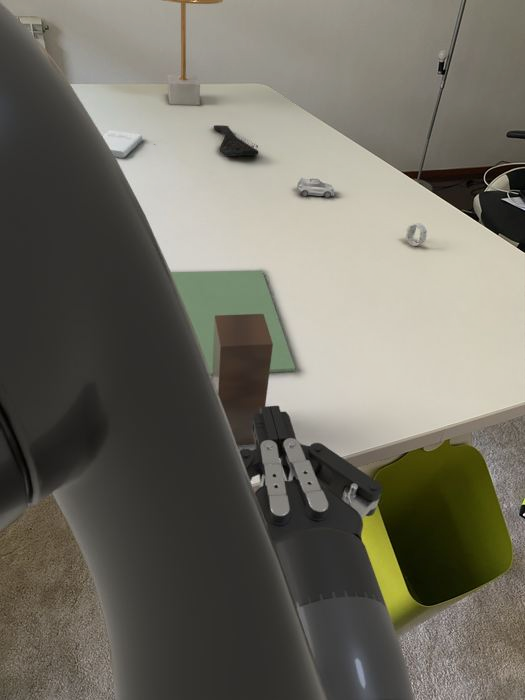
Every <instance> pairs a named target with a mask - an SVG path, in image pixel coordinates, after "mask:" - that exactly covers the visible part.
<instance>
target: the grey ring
mask: <svg viewBox="0 0 525 700" xmlns="http://www.w3.org/2000/svg"><path fill="white" fill-rule="evenodd" d="M417 229H418V230H419V236H418V240H417V242H416V241H415V239H414V236H415V235H416V231H417ZM427 232H428V231H427V229H426V226H425V225H424V224H422V223H420V222H418V223H417V222H416V223H412V224H410V225H408V226H407V228H406V232H405V238H406V239H407V242H408V243H409V245H411V246H413V247H415V246H416V247H417V246H420V245H422V244H424V242H425V241H426V239H427Z"/></svg>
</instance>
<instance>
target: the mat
mask: <svg viewBox="0 0 525 700" xmlns="http://www.w3.org/2000/svg"><path fill="white" fill-rule="evenodd" d="M171 274H172V276H173V278H174V281H175V283H176V286H177V288H178V291H179V293H180V296H181V298H182V301H183V303H184V305H185V308H186V310H187V313H188V315H189V318H190V320H191V323H192V325H193V328H194V330H195V333H196V336H197V339H198V341H199V344H200V347H201V349H202V352H203V355H204V357H205V360H206V363H207V365H208V368H209V371H210V373H211V376H212V371H213V344H214V318H215V315H241V314H264V317H265V320H266V323H267V326H268V330H269V333H270V336H271V339H272V343H273V348H272V356H271V364H270V372H269V373H284V372H296V367H295V366H296V365H295V364H294V360H293V358H292V357H293V356H292V355H291V354H292V353H291V352H290V349H289V346H288V343H287V340H286V336H285V334H284V331H283V328H282V325H281V321H280V320H279V317H278V314H277V313H278V312H277V310H276V307H275V304H274V301H273V299H272V295H271V292H270V290H269V289H270V288H269V286H268V283H267V280H266V278H265V275H264V272H263V270H218V271H216V270H215V271H213V270H212V271H171Z"/></svg>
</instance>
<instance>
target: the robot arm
mask: <svg viewBox="0 0 525 700" xmlns="http://www.w3.org/2000/svg"><path fill="white" fill-rule="evenodd" d="M171 272H172V271H171V269H170V266H169V264H168V262H167V260H166V258H165V256H164V253H163V251H162V249H161V247H160V245H159V243H158V239H157V238H156V236H155V233H154V231H153V229H152V227H151V225H150V222H149V220H148V217H147V216H146V214H145V212H144V209H143V208H142V206H141V204H140V202H139V200H138V197H137V196H136V194H135V192H134V191H133V189H132V187H131V185H130V183H129V181H128V179H127V177H126V175H125V173H124V171H123V170H122V168H121V166H120V164H119V161H118V159H117V157H115V156H114V155H113V153H112V151H111V150H110V148H109V146H108V145H107V143H106V141H105V140H104V138H103V134H102V133H101V131H100V130H99V128H98V126H97V125H96V123H95V122H94V120H93V118H92V117H91V115H90V114H89V112H88V110H87V108H86V107H85V105H84V104H83V102H82V101H81V99H80V97H79V96H78V94H77V93H76V91H75V90H74V88H73V86H72V84H71V83H70V82H69V80H68V78H67V77H66V75H65V74H64V72H63V71H62V69H61V68H60V67H59V65H58V64H57V63H56V61H55V60H54V59H53V57H52V56H51V55H50V53H49V52H48V51H47V50H46V47H44V46H43V44H41V42H40V41H39V40H38V39H37V38H36V37H35V36H34V35H33V33H32V32H31V31H30V30H29V29H28V28H27V27H26V25H25V24H24V23H23V22H22V21H21V20H20V19H19V18H18V17H17V16H16V15H15V14H14V13H13V12H12V11H11V10H10V9H9V8H8V7H7V6H6V5H5V4H4V3H3V2H2V1H1V0H0V534H2V533H4V532H5V531H6V530H7V529H8V528H9V527H11V526H12V525H13V524H14V523H15V522H17V521H18V520H20V519H21V518H22V516H23V515H24V514H25V512H26V511H27V509H32V508H34V507H36V505H38V504H39V503H41V502H42V501H43V500H45V499H46V498H47V497H49V496H50V495H51V497H52V498H53V500H54V502H55V503H56V505H57V508H58V509H59V510H60V513H61V515H62V516H63V518H64V520H65V522H66V523H67V525H68V527H69V529H70V531H71V533H72V535H73V537H74V539H75V541H76V544H77V545H78V547H79V550H80V552H81V555H82V558H83V560H84V562H85V564H86V567H87V570H88V572H89V574H90V577H91V581H92V583H93V586H94V590H95V593H96V596H97V599H98V602H99V606H100V609H101V613H102V618H103V622H104V627H105V632H106V636H107V640H108V648H109V657H110V664H111V674H112V681H113V689H114V698H115V700H415V696H414V692H413V687H412V683H411V678H410V673H409V670H408V665H407V662H406V658H405V655H404V653H403V649H402V647H401V644H400V641H399V638H398V635H397V632H396V630H395V629H396V628H395V627H394V624H393V620H392V618H391V615H390V611H389V610H388V606H387V604H386V601H385V598H384V596H383V592H382V590H381V587H380V585H379V581H378V578H377V576H376V574H375V570H374V567H373V565H372V562H371V558H370V557H369V553H368V550H367V548H366V547H367V546H366V545H365V544H364V541H363V540H362V533H363V529H364V520H363V519H364V518H365V517H371V516H374V514H375V512H376V510H377V506H378V505H379V501H380V498H381V495H382V492H383V486H382V485H381V484H380V482H379V481H377V480H375V479H374V478H373V477H371V476H370V475H368V474H367V473H365V472H364V471H362V470H361V469H359V468H358V467H357V466H355V465H353V464H352V463H350V462H349V461H348V460H346V459H344V458H343V457H341V456H340V455H338V454H337V453H336V452H334V451H333V450H332V449H330V448H328V447H327V446H325V445H324V444H323V443H320V442H313V443H311V444H310V445H306V444H303V443H300V441H299V440H298V439H297V438H296V433H295V430H294V427H293V423H292V421H291V417H290V415H289V414H288V412H286V411H281V409H280V408H281V407H280V406H279V405H268V406H267V405H265V407H260V412H259V413H258V414H255V415H254V418H253V428H252V432H253V436H254V442H255V444H254V445H255V448H254V449H250V448H241V449H240V448H239V445H237V443H236V441H235V438H234V435H233V433H232V430H231V427H230V424H229V422H228V419H227V416H226V414H225V411H224V408H223V406H222V403H221V400H220V398H219V395H218V392H217V389H216V387H215V384H214V381H213V379H212V376H211V373H210V371H209V368H208V365H207V363H206V360H205V357H204V355H203V352H202V349H201V347H200V344H199V341H198V339H197V336H196V333H195V330H194V328H193V325H192V323H191V320H190V318H189V315H188V313H187V310H186V308H185V305H184V303H183V301H182V298H181V296H180V293H179V291H178V288H177V286H176V283H175V281H174V278H173V276H172V274H171ZM257 476H258V478H259V487H258V488H257V489H256V491H255V490H254V487H253V484H252V479H253V478H254V477H257Z"/></svg>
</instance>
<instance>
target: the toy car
mask: <svg viewBox="0 0 525 700" xmlns="http://www.w3.org/2000/svg"><path fill="white" fill-rule="evenodd" d="M296 189H297V194H300V193H301V196H302V197H303V198H304V197H308V196H318V197H322V196H324V198H325V199H329V198H330V197H334V196H335V194H336V193H335V188H334V186H333V185H332V184H330V183H326V182H323V181H321V180H320V179H318V178H304V177H301V178H299V180H298V182H297V186H296Z"/></svg>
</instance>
